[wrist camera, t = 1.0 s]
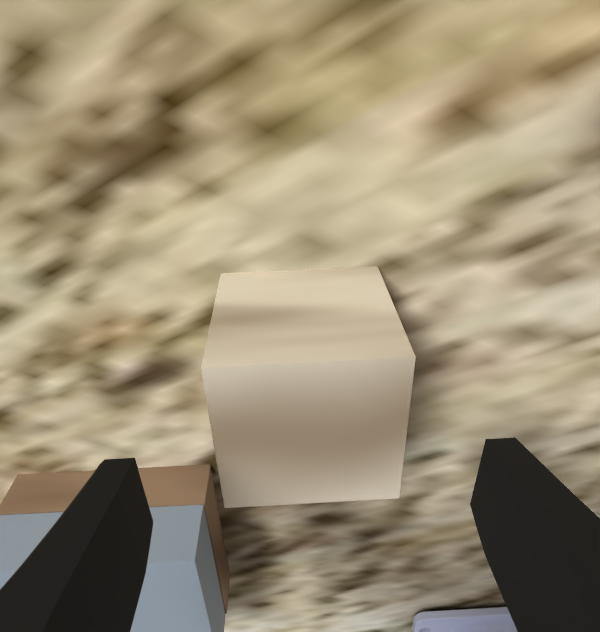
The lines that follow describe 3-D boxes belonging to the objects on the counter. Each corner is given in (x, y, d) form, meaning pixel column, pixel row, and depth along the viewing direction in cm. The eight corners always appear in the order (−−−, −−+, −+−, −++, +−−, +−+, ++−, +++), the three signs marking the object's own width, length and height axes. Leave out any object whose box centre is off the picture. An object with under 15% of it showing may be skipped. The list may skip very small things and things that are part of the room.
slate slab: (225, 615, 20) (220, 669, 18) (54, 624, 20) (33, 681, 18) (203, 504, 16) (194, 560, 15) (-6, 515, 16) (-39, 573, 15)
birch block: (369, 386, 16) (399, 498, 13) (236, 393, 16) (224, 508, 12) (377, 265, 14) (415, 356, 10) (220, 272, 14) (201, 367, 10)
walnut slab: (230, 567, 22) (226, 613, 20) (73, 575, 22) (55, 623, 20) (211, 457, 18) (204, 502, 16) (22, 467, 18) (-5, 513, 16)
